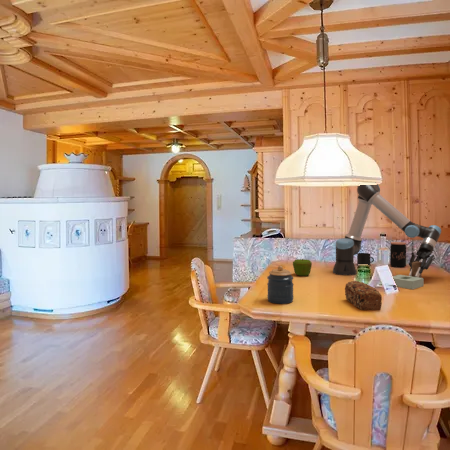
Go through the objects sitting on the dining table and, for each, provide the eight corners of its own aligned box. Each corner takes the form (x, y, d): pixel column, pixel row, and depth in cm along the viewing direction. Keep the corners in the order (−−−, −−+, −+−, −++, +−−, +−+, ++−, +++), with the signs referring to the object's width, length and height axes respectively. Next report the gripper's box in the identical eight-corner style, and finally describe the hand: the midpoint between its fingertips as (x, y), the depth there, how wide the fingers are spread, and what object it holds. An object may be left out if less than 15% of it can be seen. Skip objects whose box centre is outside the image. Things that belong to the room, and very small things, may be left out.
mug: (373, 267, 267) (373, 255, 266) (356, 265, 272) (356, 254, 272) (374, 265, 275) (374, 253, 274) (358, 264, 281) (358, 252, 280)
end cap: (388, 285, 209) (388, 277, 208) (399, 281, 216) (399, 274, 216) (412, 289, 198) (412, 281, 197) (423, 286, 205) (423, 278, 205)
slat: (411, 282, 214) (411, 262, 213) (416, 280, 218) (416, 261, 217) (416, 283, 212) (417, 263, 211) (421, 281, 215) (421, 261, 214)
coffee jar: (390, 267, 265) (390, 243, 263) (389, 264, 274) (390, 241, 273) (406, 268, 260) (407, 243, 259) (405, 265, 270) (405, 242, 269)
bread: (344, 299, 179) (344, 280, 179) (365, 299, 180) (365, 279, 179) (359, 311, 161) (359, 289, 160) (382, 310, 161) (383, 288, 160)
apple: (289, 274, 244) (289, 257, 243) (305, 272, 248) (305, 256, 247) (298, 277, 232) (298, 260, 232) (315, 276, 236) (315, 259, 235)
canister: (293, 297, 184) (293, 263, 183) (293, 305, 171) (293, 268, 170) (268, 296, 187) (268, 263, 185) (265, 303, 174) (265, 267, 173)
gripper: (443, 251, 216) (429, 282, 207) (415, 249, 229) (402, 278, 220) (439, 243, 213) (425, 275, 204) (412, 241, 226) (397, 270, 217)
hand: (413, 276), depth 212 cm, fingers closed on slat, 3 cm apart
